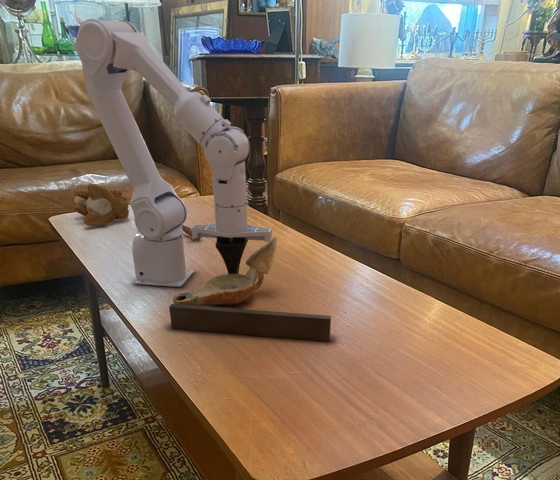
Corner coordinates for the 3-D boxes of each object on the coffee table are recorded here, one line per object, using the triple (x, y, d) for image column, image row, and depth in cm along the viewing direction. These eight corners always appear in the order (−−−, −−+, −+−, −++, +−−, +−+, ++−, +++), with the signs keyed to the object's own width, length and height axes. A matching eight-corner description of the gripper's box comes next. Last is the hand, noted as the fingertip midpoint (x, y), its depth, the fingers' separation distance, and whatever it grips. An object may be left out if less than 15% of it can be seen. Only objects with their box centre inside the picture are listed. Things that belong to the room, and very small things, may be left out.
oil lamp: (288, 295, 102) (289, 243, 97) (185, 324, 92) (179, 268, 86) (263, 281, 108) (262, 231, 103) (163, 306, 98) (157, 252, 92)
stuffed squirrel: (82, 224, 135) (65, 222, 145) (136, 228, 144) (116, 226, 154) (81, 182, 132) (64, 182, 142) (136, 188, 141) (116, 188, 151)
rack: (171, 328, 90) (168, 306, 88) (173, 325, 91) (171, 303, 89) (329, 341, 86) (330, 319, 84) (330, 338, 88) (331, 315, 85)
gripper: (274, 199, 99) (275, 270, 106) (197, 196, 101) (203, 266, 108) (267, 209, 93) (268, 284, 100) (185, 206, 95) (192, 279, 102)
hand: (233, 276), depth 104 cm, fingers closed
